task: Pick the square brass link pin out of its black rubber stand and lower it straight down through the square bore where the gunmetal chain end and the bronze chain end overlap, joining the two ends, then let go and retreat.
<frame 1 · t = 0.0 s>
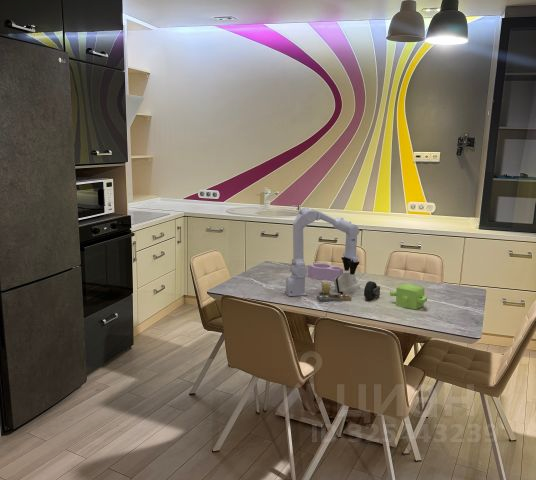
hand: (349, 272, 258), 10 cm above the table, fingers open, 7 cm apart
pin stand: (325, 295, 251), on the table
caster wheel: (372, 298, 250), on the table
clip: (325, 278, 285), on the table
gearbox: (406, 306, 239), on the table
chain end left: (324, 300, 244), on the table
off-white striped device: (346, 290, 263), on the table
chain end right: (343, 299, 246), on the table
pin: (325, 289, 250), in the pin stand
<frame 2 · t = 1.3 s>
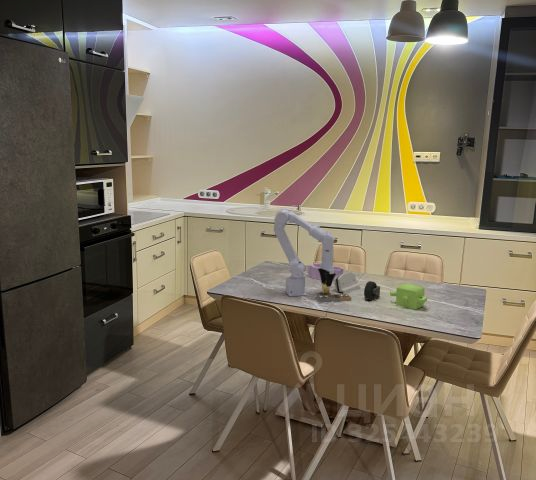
hand: (326, 284, 250), 6 cm above the table, fingers open, 7 cm apart
nothing on the table moved.
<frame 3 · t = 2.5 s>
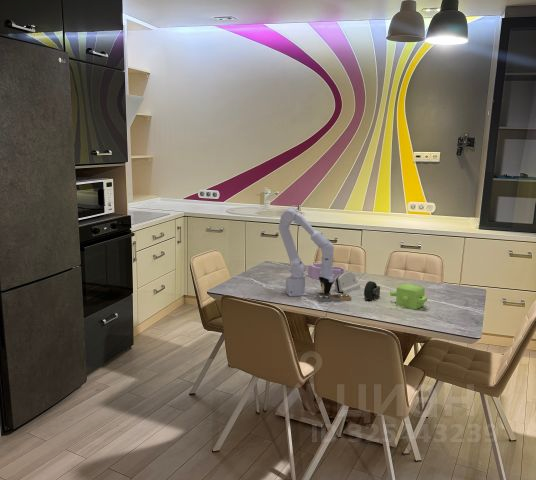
hand: (325, 292, 250), 2 cm above the table, fingers closed on pin, 4 cm apart
pin: (325, 289, 250), in the pin stand, touching gripper
everything else where it was.
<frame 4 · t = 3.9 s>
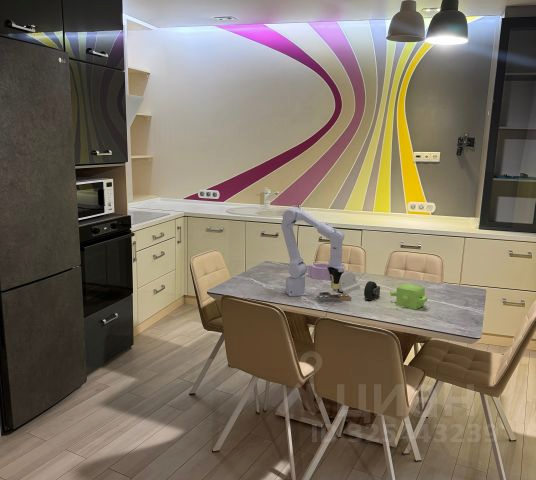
hand: (334, 282, 243), 9 cm above the table, fingers closed on pin, 4 cm apart
pin: (335, 281, 243), point 9 cm above the table, touching gripper
everything else where it was.
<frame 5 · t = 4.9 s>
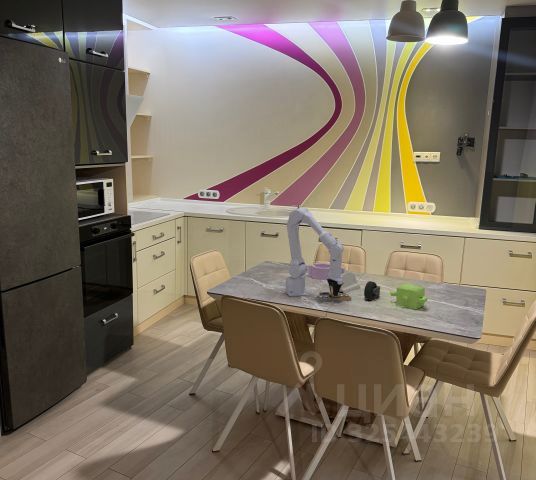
hand: (334, 294, 245), 3 cm above the table, fingers closed on pin, 4 cm apart
pin: (334, 292, 245), on the table, touching gripper
everything else where it was.
when the fingers open (2 cm above the table, at t = 5.4 s): pin stays where it is, on the table.
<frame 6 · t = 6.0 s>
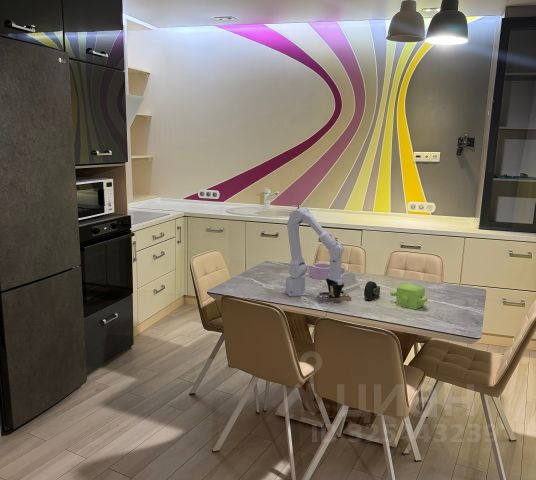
hand: (334, 295, 245), 2 cm above the table, fingers open, 7 cm apart
pin: (334, 292, 245), on the table
everything else where it was.
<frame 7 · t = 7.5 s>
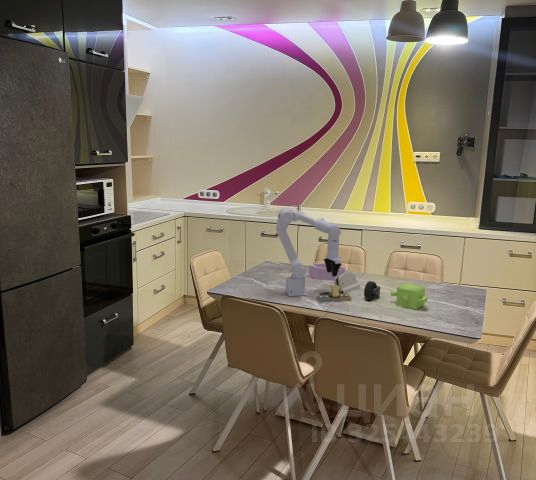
hand: (331, 274, 253), 10 cm above the table, fingers open, 7 cm apart
nothing on the table moved.
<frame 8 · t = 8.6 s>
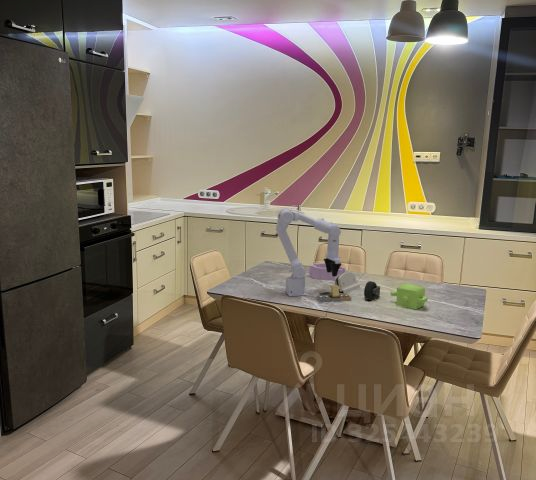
hand: (331, 274, 253), 10 cm above the table, fingers open, 7 cm apart
at the end: pin 0.4 cm from the target spot, on the table; pin tilted 0°; the gripper is holding nothing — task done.
